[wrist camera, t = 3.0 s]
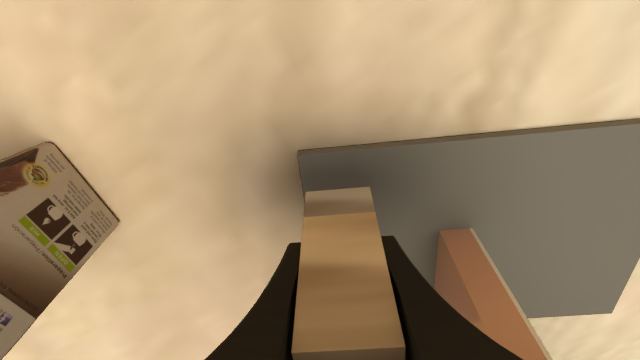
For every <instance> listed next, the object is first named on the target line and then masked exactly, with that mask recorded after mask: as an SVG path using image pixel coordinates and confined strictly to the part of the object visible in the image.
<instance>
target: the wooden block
mask: <svg viewBox="0 0 640 360" xmlns="http://www.w3.org/2000/svg"><path fill="white" fill-rule="evenodd" d="M405 348H406V347H405V342H404V338H403V333H402V329H401V324H400V320H399V315H398V311H397V307H396V302H395V298H394V293H393V289H392V284H391V280H390V275H389V271H388V266H387V262H386V257H385V253H384V248H383V244H382V239H381V235H380V230H379V226H378V221H377V217H376V213H375V208H374V204H373V199H372V195H371V190H370V187H359V188H347V189H335V190H323V191H311V192H306V195H305V206H304V218H303V229H302V240H301V251H300V263H299V274H298V285H297V296H296V307H295V319H294V330H293V341H292V352H291V353H292V357H293V360H405Z"/></svg>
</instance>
